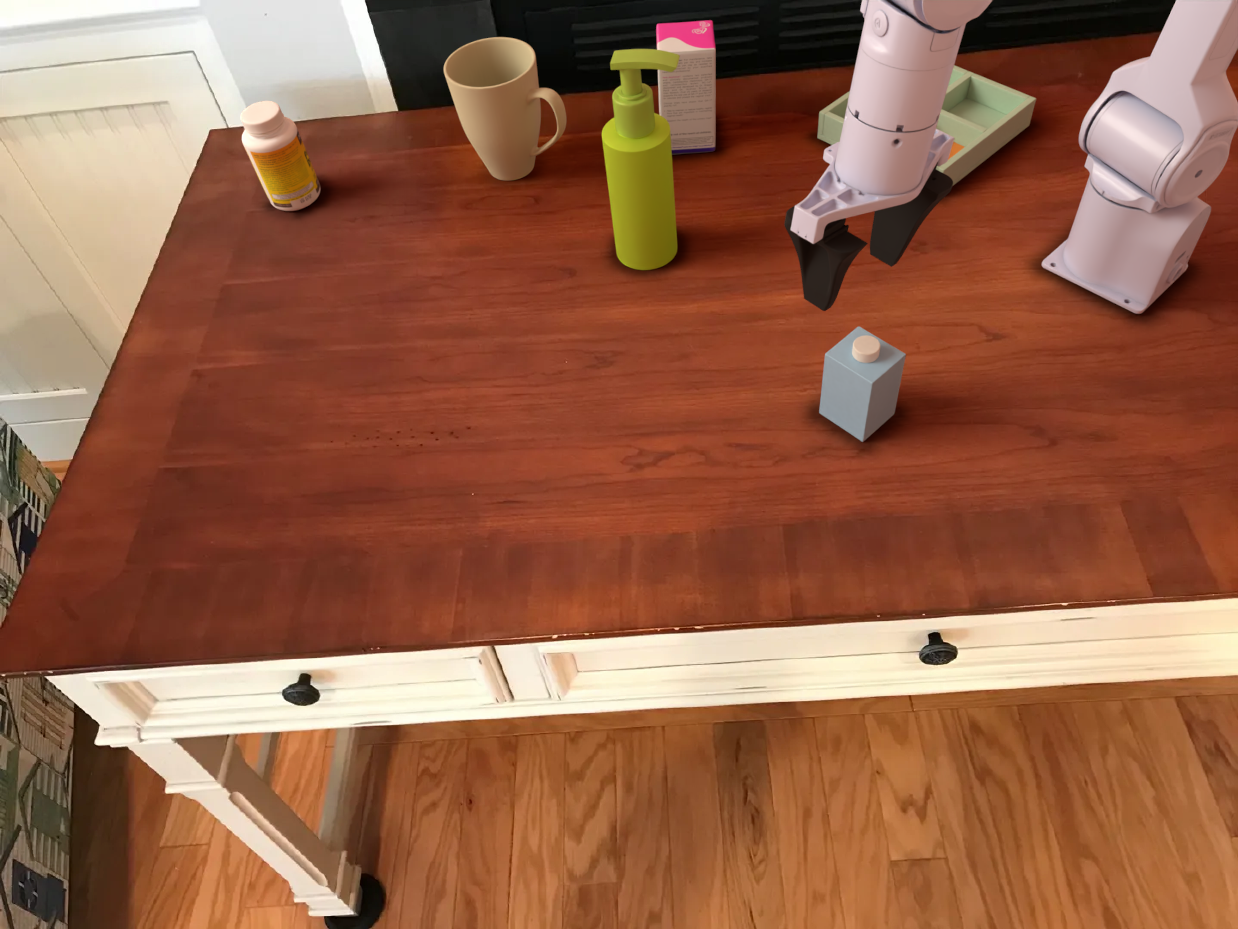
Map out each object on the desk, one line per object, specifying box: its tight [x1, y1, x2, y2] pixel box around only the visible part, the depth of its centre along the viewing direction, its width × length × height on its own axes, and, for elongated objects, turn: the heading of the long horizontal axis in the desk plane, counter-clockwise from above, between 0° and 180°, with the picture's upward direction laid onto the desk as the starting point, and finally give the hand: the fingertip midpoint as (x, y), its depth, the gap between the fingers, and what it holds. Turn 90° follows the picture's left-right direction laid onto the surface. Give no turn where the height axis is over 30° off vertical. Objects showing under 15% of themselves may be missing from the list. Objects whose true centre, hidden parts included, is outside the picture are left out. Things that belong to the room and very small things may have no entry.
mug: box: [443, 36, 567, 182], centre depth 99 cm, size 11×10×12 cm
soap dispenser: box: [601, 48, 680, 271], centre depth 86 cm, size 6×7×20 cm
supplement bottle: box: [240, 100, 322, 212], centre depth 101 cm, size 6×6×10 cm
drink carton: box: [818, 325, 907, 443], centre depth 76 cm, size 4×4×8 cm
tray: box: [816, 64, 1037, 186], centre depth 100 cm, size 15×15×3 cm
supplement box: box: [655, 19, 717, 156], centre depth 100 cm, size 6×6×12 cm
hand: (850, 280), depth 72 cm, fingers open, 7 cm apart
